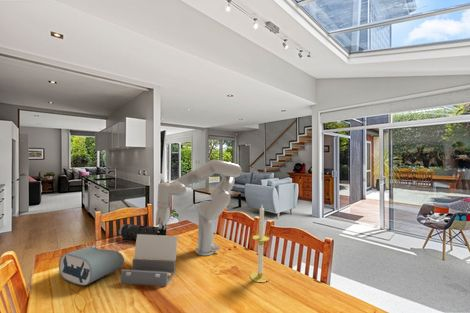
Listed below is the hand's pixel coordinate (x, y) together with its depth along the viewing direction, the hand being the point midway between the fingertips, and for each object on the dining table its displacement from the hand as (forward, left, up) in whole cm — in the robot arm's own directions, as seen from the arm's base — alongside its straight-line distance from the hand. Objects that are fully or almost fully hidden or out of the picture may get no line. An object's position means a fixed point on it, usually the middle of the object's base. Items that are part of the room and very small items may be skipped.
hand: (162, 235), depth 131 cm
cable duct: (-1, +19, -14) cm, 23 cm away
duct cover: (-1, +11, -2) cm, 11 cm away
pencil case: (+28, +19, -14) cm, 37 cm away
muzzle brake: (+25, -26, -14) cm, 39 cm away
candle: (-56, +13, -14) cm, 59 cm away
